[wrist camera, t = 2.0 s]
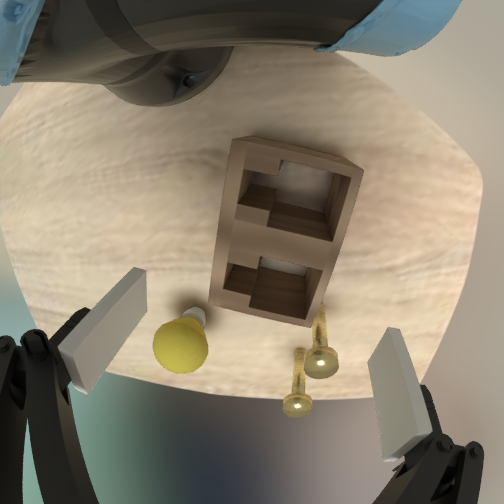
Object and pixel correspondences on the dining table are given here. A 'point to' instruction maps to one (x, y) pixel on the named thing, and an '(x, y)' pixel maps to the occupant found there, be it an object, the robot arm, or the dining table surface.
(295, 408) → the post
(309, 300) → the keyhole block
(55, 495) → the robot arm
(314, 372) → the post
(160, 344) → the light bulb
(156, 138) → the dining table surface
